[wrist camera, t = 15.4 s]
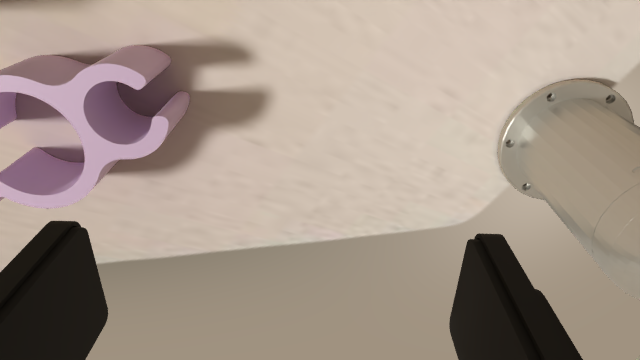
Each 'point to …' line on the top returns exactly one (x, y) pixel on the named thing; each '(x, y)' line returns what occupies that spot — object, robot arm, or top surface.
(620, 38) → the top surface
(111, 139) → the clip
